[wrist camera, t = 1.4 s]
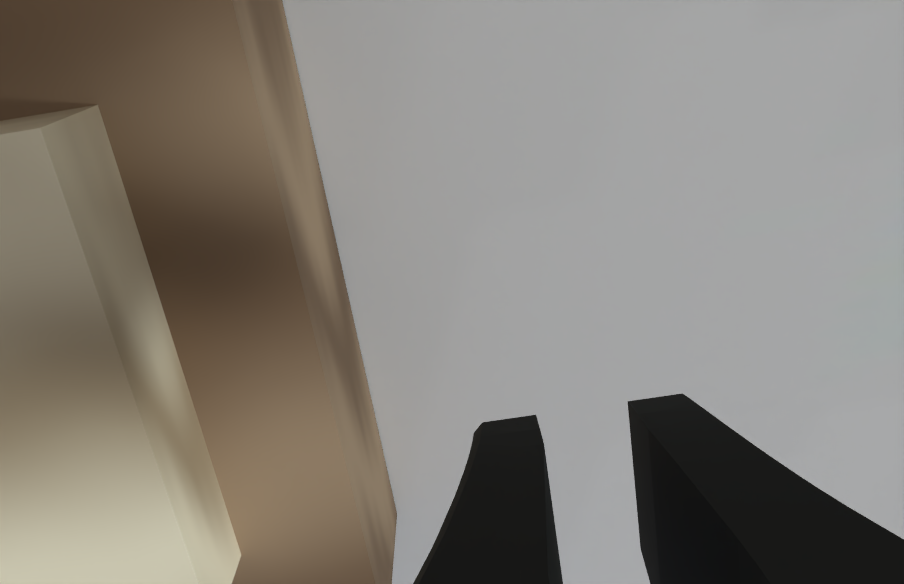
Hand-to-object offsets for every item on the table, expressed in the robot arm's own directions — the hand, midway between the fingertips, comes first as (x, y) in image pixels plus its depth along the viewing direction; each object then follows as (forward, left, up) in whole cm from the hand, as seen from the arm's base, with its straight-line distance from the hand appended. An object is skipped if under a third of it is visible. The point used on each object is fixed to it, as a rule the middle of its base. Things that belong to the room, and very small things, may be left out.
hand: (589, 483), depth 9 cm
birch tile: (0, +10, -5) cm, 11 cm away
